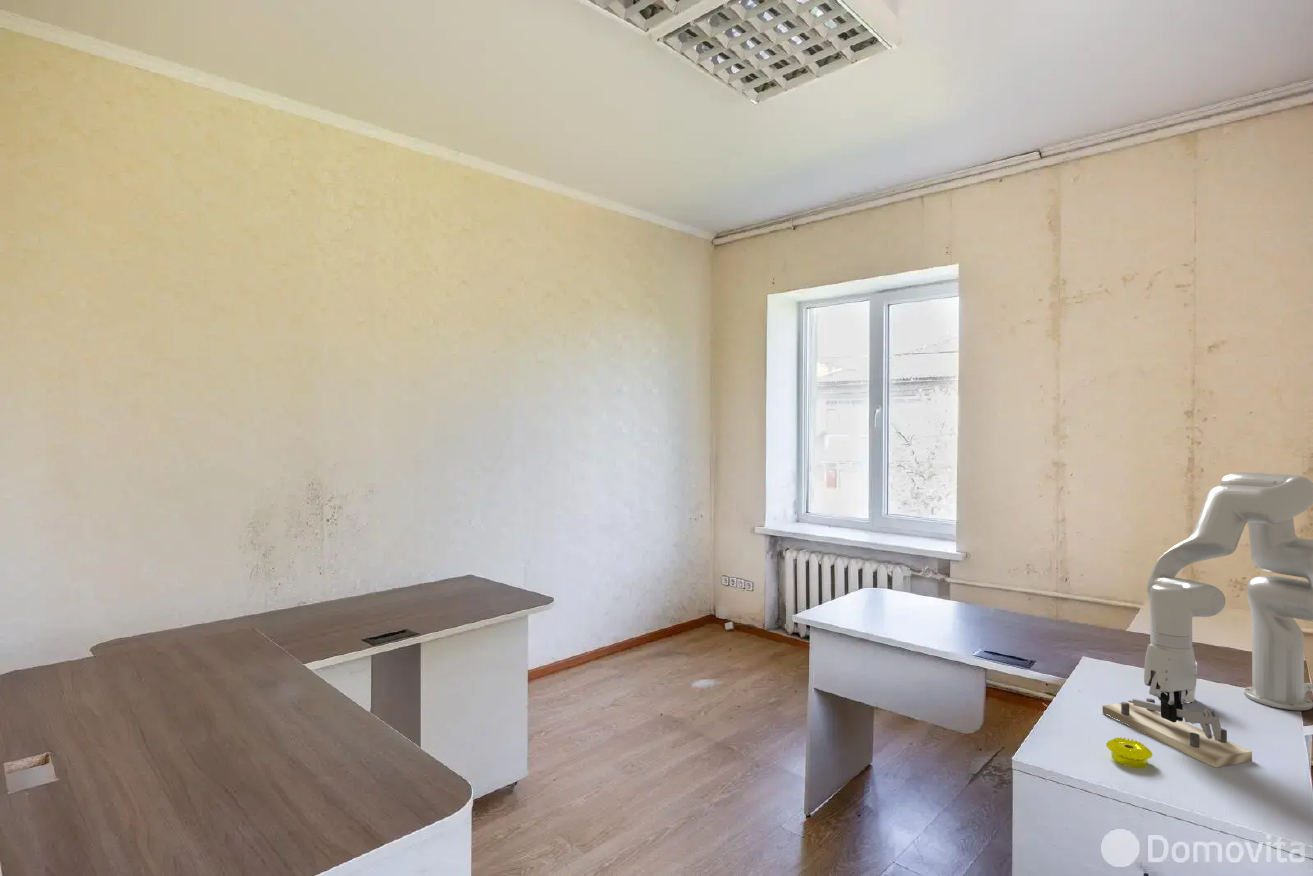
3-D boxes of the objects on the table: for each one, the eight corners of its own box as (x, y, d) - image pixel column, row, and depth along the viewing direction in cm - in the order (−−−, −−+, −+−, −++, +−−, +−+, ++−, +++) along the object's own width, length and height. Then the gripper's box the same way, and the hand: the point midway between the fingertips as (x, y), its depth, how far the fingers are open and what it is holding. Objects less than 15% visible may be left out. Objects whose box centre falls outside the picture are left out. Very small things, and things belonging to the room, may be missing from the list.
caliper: (1221, 742, 138) (1221, 713, 138) (1217, 742, 138) (1217, 714, 138) (1131, 702, 158) (1131, 677, 158) (1127, 702, 158) (1127, 677, 158)
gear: (1133, 773, 133) (1162, 767, 135) (1133, 755, 133) (1162, 749, 135) (1097, 755, 140) (1124, 749, 143) (1097, 738, 140) (1124, 732, 143)
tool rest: (1135, 708, 162) (1135, 691, 162) (1252, 760, 136) (1251, 739, 136) (1102, 713, 159) (1102, 695, 159) (1215, 767, 134) (1215, 746, 134)
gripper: (1180, 631, 153) (1181, 708, 153) (1128, 637, 149) (1129, 716, 150) (1214, 641, 146) (1215, 722, 146) (1160, 648, 142) (1161, 731, 143)
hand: (1171, 719), depth 148 cm, fingers closed on caliper, 1 cm apart
